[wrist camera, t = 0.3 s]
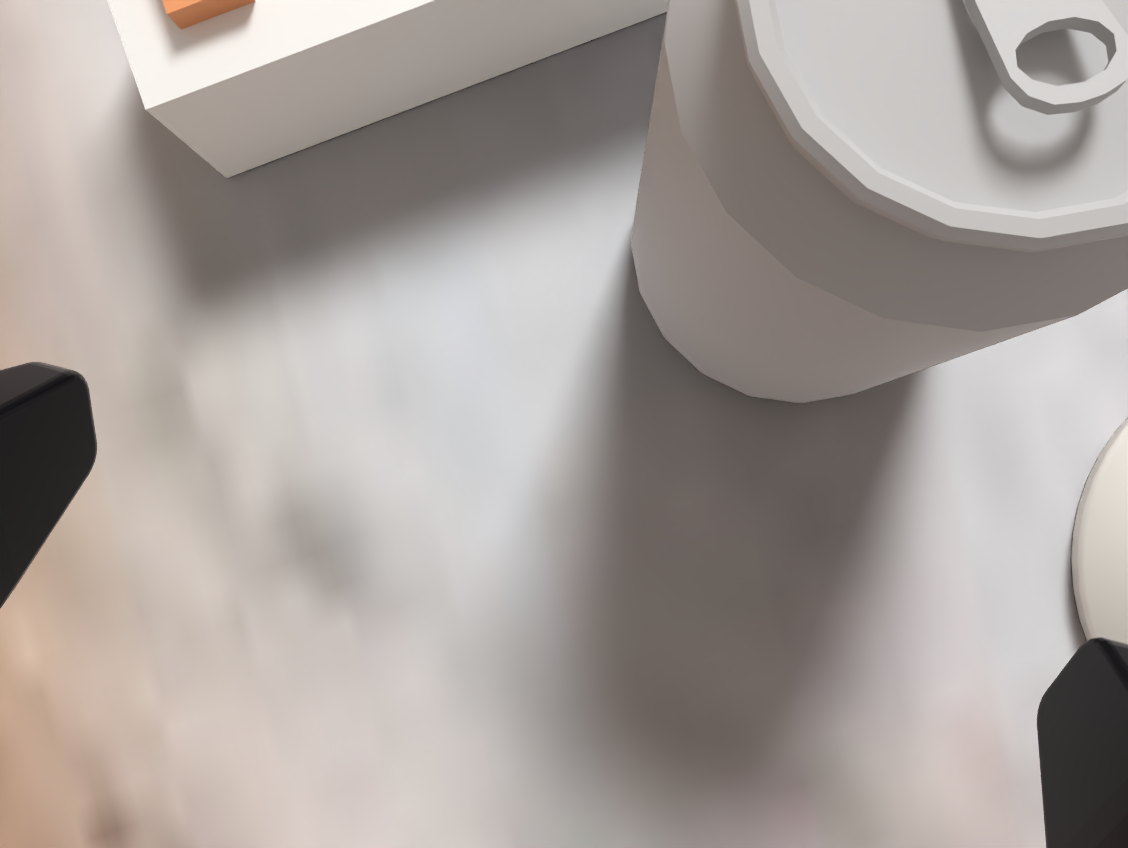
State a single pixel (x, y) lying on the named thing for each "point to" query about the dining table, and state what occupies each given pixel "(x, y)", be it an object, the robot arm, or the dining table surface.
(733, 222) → the can
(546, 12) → the power strip
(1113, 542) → the coaster
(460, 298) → the dining table surface
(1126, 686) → the robot arm
